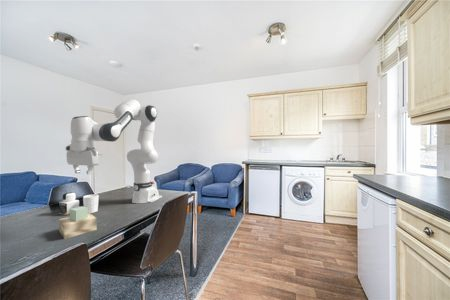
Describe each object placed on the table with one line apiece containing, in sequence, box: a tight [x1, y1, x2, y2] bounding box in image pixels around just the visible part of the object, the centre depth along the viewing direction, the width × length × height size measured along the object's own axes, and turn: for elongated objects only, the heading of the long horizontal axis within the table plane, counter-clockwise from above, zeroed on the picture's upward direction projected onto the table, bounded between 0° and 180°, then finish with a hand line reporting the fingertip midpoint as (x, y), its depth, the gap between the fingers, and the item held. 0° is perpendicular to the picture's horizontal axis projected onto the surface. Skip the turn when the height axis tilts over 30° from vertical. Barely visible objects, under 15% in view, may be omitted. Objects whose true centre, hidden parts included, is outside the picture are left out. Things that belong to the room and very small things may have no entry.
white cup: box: [82, 193, 100, 214], centre depth 114 cm, size 8×8×10 cm
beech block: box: [58, 213, 98, 240], centre depth 88 cm, size 12×12×6 cm
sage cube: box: [69, 205, 88, 221], centre depth 88 cm, size 5×5×5 cm
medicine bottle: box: [58, 192, 80, 216], centre depth 113 cm, size 7×7×12 cm
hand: (83, 173), depth 95 cm, fingers open, 8 cm apart
